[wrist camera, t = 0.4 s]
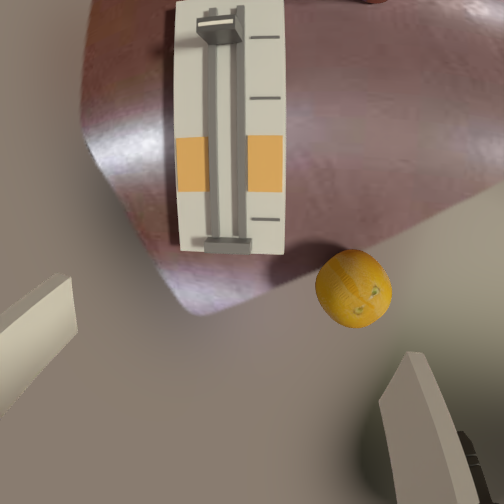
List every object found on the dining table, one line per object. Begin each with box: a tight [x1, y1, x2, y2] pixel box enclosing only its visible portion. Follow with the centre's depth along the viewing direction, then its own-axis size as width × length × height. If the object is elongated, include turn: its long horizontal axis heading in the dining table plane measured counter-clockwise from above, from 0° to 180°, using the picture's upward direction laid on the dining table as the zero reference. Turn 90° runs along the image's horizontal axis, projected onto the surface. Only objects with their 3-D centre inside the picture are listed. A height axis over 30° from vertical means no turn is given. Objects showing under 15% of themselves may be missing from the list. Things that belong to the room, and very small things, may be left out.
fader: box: [196, 14, 243, 45], centre depth 25 cm, size 2×4×6 cm, turn 90°
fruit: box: [315, 249, 392, 328], centre depth 34 cm, size 9×8×8 cm
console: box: [174, 0, 286, 255], centre depth 31 cm, size 30×12×4 cm, turn 0°
